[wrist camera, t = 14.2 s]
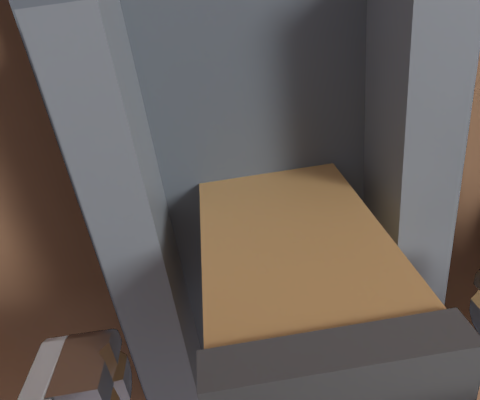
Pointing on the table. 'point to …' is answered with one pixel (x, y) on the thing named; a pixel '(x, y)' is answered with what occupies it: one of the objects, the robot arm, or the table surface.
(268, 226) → the grey and tan block
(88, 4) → the grey channel bracket
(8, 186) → the table surface
